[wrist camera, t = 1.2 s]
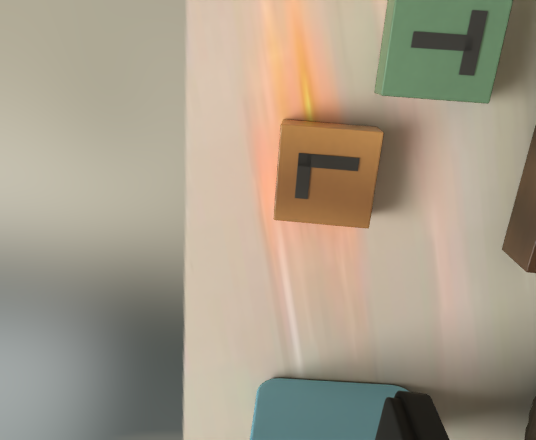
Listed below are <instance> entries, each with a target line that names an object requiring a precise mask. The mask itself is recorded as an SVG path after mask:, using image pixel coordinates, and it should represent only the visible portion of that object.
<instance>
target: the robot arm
mask: <svg viewBox="0 0 536 440" xmlns="http://www.w3.org/2000/svg"><path fill="white" fill-rule="evenodd" d="M375 440H449V438H448V435H447V433H446V431H445V429H444V426H443V424H442V422H441V419H440V417H439V415H438V413H437V410H436V408H435V406H434V403H433V401H432V399H431V397H430V396H429V395H428V394H423V393H415V392H408V391H400V390H399V391H397V392H396V394H395V396H394V398H392V397H387V398H386V399H385V402H384V406H383V410H382V414H381V418H380V422H379V426H378V430H377V433H376V437H375Z"/></svg>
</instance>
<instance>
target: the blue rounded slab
mask: <svg viewBox="0 0 536 440" xmlns="http://www.w3.org/2000/svg"><path fill="white" fill-rule="evenodd" d="M399 390H400V391H408V390H406V389H404V388H402V387H399V386H395V385H385V384H368V383H352V382H335V381H318V380H302V379H285V378H274V379H270V380H267V381H265V382H264V383H262V384H261V385H260V387H259V388H258V390H257V395H256V402H255V409H254V416H253V422H252V429H251V436H250V440H375V437H376V433H377V430H378V426H379V422H380V418H381V414H382V410H383V406H384V402H385V399H386V398H387V397H392V398H394V396H395V394H396V392H397V391H399ZM408 392H409V391H408Z"/></svg>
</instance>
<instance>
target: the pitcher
mask: <svg viewBox="0 0 536 440" xmlns="http://www.w3.org/2000/svg"><path fill="white" fill-rule="evenodd" d="M525 440H536V397H535V398H534V400H533V404H532V407H531V410H530V413H529V421H528V425H527V427H526V432H525Z"/></svg>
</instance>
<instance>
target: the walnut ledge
mask: <svg viewBox="0 0 536 440" xmlns="http://www.w3.org/2000/svg"><path fill="white" fill-rule="evenodd" d="M502 250H503V251H504V252H505V253H506V254H508V255H509V256H510V257H511V258H512V259H513V260H514V261H515V262H516V263H517V264H518V265H519V266H520V267H522V268H523V269H524V270H525V271H526V272H531V273H536V126H535V130H534V134H533V137H532V141H531V145H530V148H529V152H528V156H527V159H526V163H525V167H524V170H523V174H522V178H521V181H520V185H519V189H518V192H517V196H516V200H515V203H514V207H513V211H512V214H511V218H510V222H509V225H508V229H507V233H506V236H505V240H504V244H503V247H502Z"/></svg>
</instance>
